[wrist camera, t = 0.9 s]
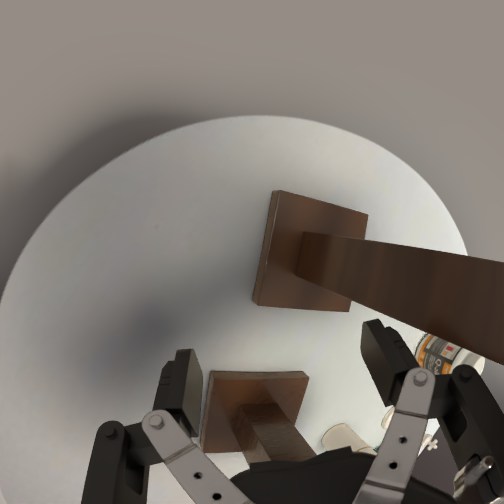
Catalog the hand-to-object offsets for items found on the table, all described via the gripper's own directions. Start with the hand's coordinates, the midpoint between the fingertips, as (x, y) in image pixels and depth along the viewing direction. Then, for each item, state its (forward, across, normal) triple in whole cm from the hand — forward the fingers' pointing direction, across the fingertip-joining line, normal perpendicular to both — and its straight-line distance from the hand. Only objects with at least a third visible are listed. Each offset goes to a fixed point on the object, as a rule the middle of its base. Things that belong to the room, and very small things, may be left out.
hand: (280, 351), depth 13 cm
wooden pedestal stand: (+15, -5, +3) cm, 16 cm away
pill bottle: (+17, -22, +22) cm, 35 cm away
